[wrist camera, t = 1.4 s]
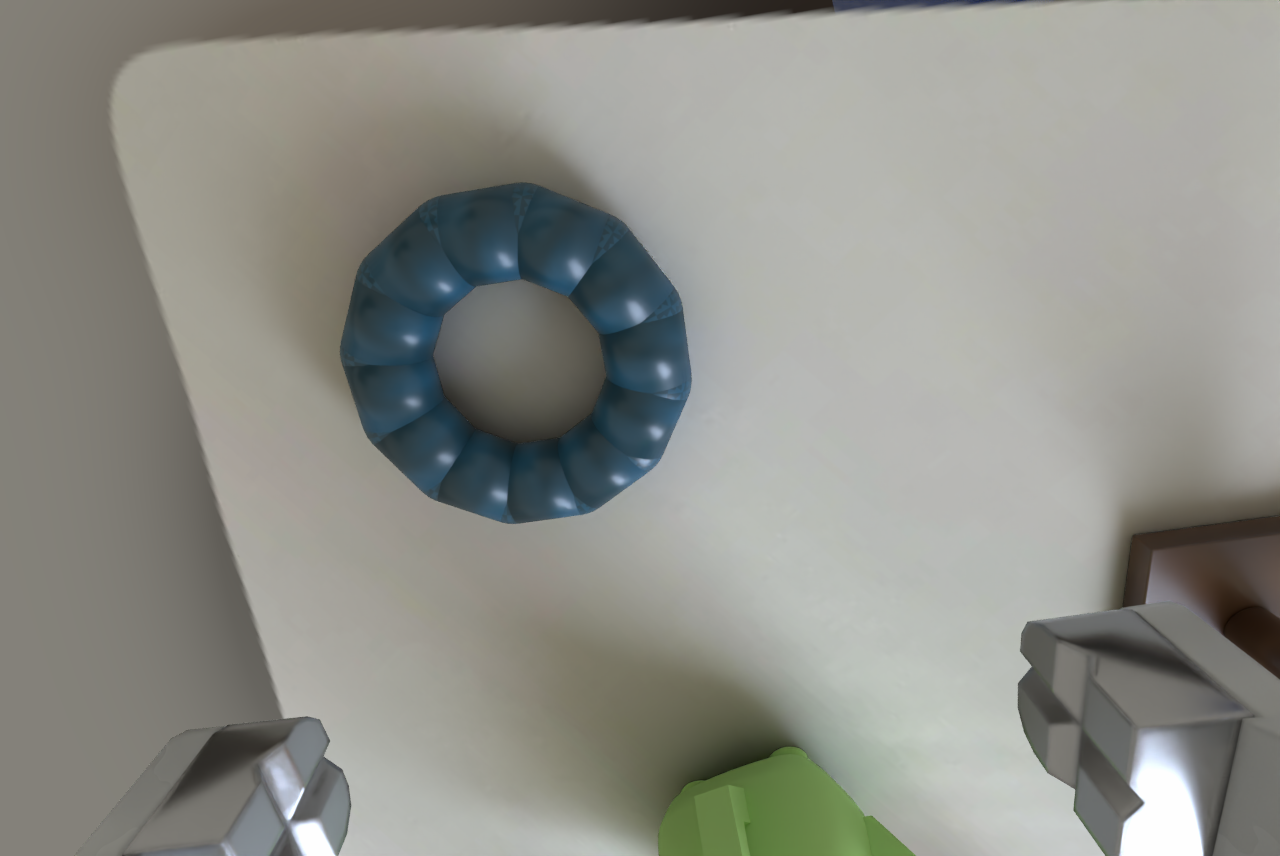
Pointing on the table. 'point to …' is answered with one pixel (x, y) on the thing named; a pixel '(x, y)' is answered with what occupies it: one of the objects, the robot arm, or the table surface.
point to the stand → (1216, 580)
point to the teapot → (772, 815)
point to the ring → (549, 257)
